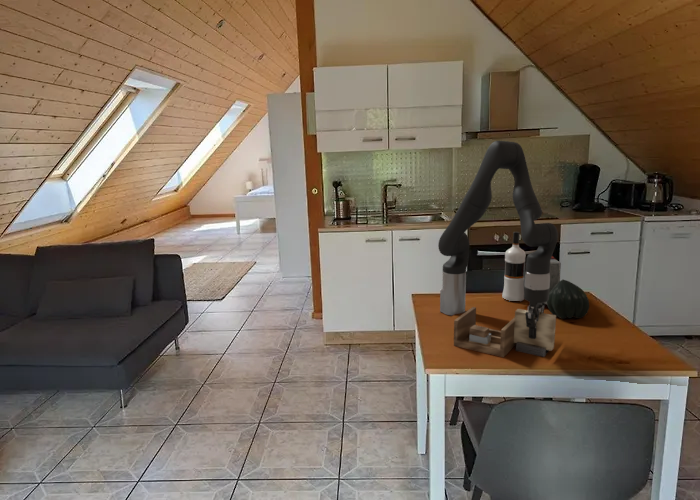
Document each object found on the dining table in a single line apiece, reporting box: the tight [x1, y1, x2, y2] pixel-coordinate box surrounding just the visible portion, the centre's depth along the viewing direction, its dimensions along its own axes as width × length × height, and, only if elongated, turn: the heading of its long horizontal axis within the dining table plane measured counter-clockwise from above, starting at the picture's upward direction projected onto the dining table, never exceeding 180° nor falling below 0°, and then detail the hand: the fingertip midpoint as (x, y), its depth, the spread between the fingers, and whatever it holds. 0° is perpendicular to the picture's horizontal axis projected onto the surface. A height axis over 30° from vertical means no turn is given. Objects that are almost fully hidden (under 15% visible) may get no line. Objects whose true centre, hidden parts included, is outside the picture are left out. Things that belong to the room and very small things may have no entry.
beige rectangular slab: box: [514, 308, 557, 352], centre depth 157 cm, size 12×3×11 cm, turn 54°
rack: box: [453, 306, 516, 358], centre depth 164 cm, size 17×16×10 cm
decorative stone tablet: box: [544, 255, 562, 305], centre depth 211 cm, size 19×6×30 cm
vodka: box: [501, 231, 527, 302], centre depth 209 cm, size 9×9×30 cm
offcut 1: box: [470, 324, 490, 338], centre depth 161 cm, size 5×4×2 cm
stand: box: [515, 342, 550, 358], centre depth 158 cm, size 9×8×4 cm
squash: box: [546, 279, 590, 319], centre depth 189 cm, size 14×15×15 cm
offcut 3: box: [469, 341, 490, 347], centre depth 162 cm, size 6×4×2 cm, turn 54°
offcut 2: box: [469, 334, 491, 344], centre depth 161 cm, size 6×4×2 cm, turn 58°
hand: (533, 336), depth 158 cm, fingers closed on beige rectangular slab, 3 cm apart
